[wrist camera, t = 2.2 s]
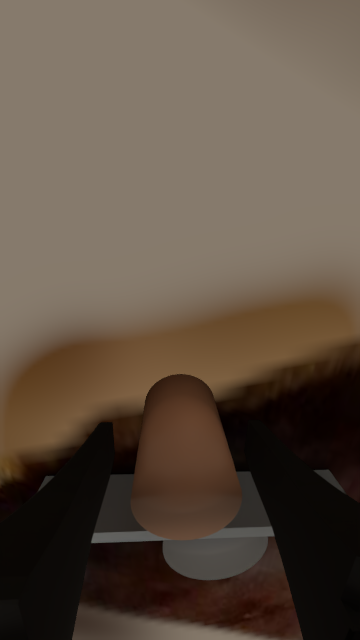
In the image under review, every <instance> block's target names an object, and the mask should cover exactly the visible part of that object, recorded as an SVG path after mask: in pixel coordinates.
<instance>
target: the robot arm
mask: <svg viewBox="0 0 360 640" xmlns="http://www.w3.org/2000/svg"><path fill="white" fill-rule="evenodd" d="M244 451H245V455H246V459H247V463H248V466H249V470H250V473H251V475H252V478H253V481H254V483H255V486H256V488H257V491H258V493H259V496H260V498H261V501H262V503H263V506H264V508H265V511H266V513H267V516H268V518H269V521H270V524H271V527H272V529H273V533H274V536H275V539H276V542H277V546H278V549H279V552H280V555H281V559H282V562H283V566H284V569H285V573H286V576H287V580H288V583H289V587H290V591H291V594H292V598H293V602H294V605H295V609H296V613H297V617H298V620H299V624H300V628H301V632H302V636H303V640H360V503H358V502H357V501H355V500H354V499H352V498H351V497H349V496H348V495H346V494H345V493H343V492H342V491H340V490H339V489H337V488H336V487H335V486H333V485H332V484H330V483H329V482H328V481H327V480H325V479H324V478H323V477H321V476H320V475H319V474H317V473H316V472H315V471H314V470H312V469H311V468H310V467H309V466H308V465H306V464H305V463H304V462H303V461H302V460H301V459H299V458H298V457H297V456H296V455H295V454H294V453H293V452H292V451H291V450H289V449H288V448H287V447H286V446H285V445H284V444H283V443H282V442H281V441H280V440H279V439H278V438H277V437H276V436H275V435H274V434H273V433H272V432H271V431H270V430H269V429H268V428H267V427H266V426H265V425H264V424H263V423H262V422H261V421H260V420H248V428H247V435H246V442H245V450H244ZM114 454H115V452H114V437H113V423H112V422H104V423H100V424H98V426H97V427H96V428H95V430H94V431H93V432H92V434H91V435H90V436H89V438H88V439H87V440H86V441H85V443H84V444H83V445H82V446H81V447H80V449H79V450H78V451H77V452H76V453H75V454H74V456H73V457H72V458H71V459H70V460H69V461H68V462H67V463H66V464H65V466H64V467H63V468H62V469H61V470H60V471H59V472H58V473H57V474H56V475H55V476H54V477H53V478H52V479H51V480H50V481H49V482H48V483H47V484H46V485H45V486H44V487H43V488H42V489H41V490H40V491H38V492H37V493H36V494H35V495H34V496H33V497H32V498H31V499H29V500H28V501H27V502H26V503H25V504H24V505H22V506H21V507H20V508H19V509H18V510H16V511H15V512H14V513H13V514H11V515H10V516H9V517H8V518H6V519H5V520H4V521H2V522H1V523H0V640H72V636H73V631H74V625H75V620H76V615H77V610H78V605H79V600H80V595H81V590H82V585H83V580H84V575H85V570H86V565H87V560H88V556H89V551H90V547H91V542H92V537H93V534H94V530H95V526H96V523H97V519H98V516H99V513H100V509H101V506H102V502H103V499H104V496H105V492H106V489H107V486H108V482H109V479H110V475H111V470H112V465H113V460H114Z"/></svg>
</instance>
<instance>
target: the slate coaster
mask: <svg viewBox="0 0 360 640" xmlns="http://www.w3.org/2000/svg"><path fill="white" fill-rule="evenodd" d="M267 544H268V536H263V537H237V538H210V539H193V540H163V554H164V558H165V560H166V562H167V563H168V564H169V566H170V567H171V568H173V569H174V570H175V571H177V572H178V573H180V574H182V575H184V576H187V577H190V578H194V579H200V580H218V579H224V578H228V577H232V576H235V575H238V574H240V573H242V572H244V571H246V570H248V569H249V568H251V567H252V566H253V565H254V564H256V563H257V562H258V561H259V560H260V558H261V557H262V556H263V554H264V552H265V550H266V548H267Z"/></svg>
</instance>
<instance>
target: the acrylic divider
mask: <svg viewBox="0 0 360 640" xmlns="http://www.w3.org/2000/svg"><path fill="white" fill-rule="evenodd" d="M314 471H315V472H316V473H317V474H319V475H320V476H321V477H323V478H324V479H325V480H327V481H328V482H329V483H330V484H332V485H333V486H335V487H336V488H337V489H339V490H340V491H342V492H343V493H345V491H344V490H343V489H342V487H341V486H340V485H339V483H338V482H337V480H336V479H335V478H334V476H333V475H332V473H331V472H330V471H329V470H314ZM236 473H237V477H238V480H239V483H240V487H241V490H242V502H241V506H240V509H239V511H238V513H237V515H236V516H235V517H234V519H233V520H232V521H231V522H230V523H229V524H228V525H227V526H225V527H224V528H223V529H221V530H219V531H218V532H216V533H214V534H211V535H209V536H206V537H203V538H199V539H210V538H237V537H263V536H274V533H273V529H272V527H271V524H270V521H269V518H268V516H267V513H266V511H265V508H264V506H263V503H262V501H261V498H260V496H259V493H258V491H257V488H256V486H255V483H254V481H253V478H252V475H251V473H250V472H236ZM53 477H54V476H46V477H45V479H44V481H43V483H42V485H41V487H40V488H39V490H38V491H40V490H41V489H42V488H43V487H44V486H45V485H46V484H47V483H48V482H49V481H50V480H51V479H52V478H53ZM133 480H134V474H118V475H110V479H109V482H108V486H107V489H106V492H105V496H104V499H103V502H102V506H101V509H100V513H99V516H98V519H97V523H96V526H95V530H94V534H93V537H92V542H91V543H103V542H130V541H157V540H171V539H166V538H162V537H159V536H157V535H154V534H152V533H150V532H149V531H147V530H146V529H144V528H143V527H142V526H141V525H140V524H139V523H138V522H137V520H136V519H135V517H134V515H133V513H132V510H131V504H130V503H131V493H132V486H133ZM345 494H346V493H345ZM346 495H347V494H346Z"/></svg>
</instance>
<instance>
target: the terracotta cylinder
mask: <svg viewBox="0 0 360 640" xmlns="http://www.w3.org/2000/svg"><path fill="white" fill-rule="evenodd" d="M241 502H242V490H241V487H240V483H239V480H238V477H237V473H236V470H235V467H234V463H233V460H232V457H231V453H230V450H229V447H228V443H227V440H226V437H225V433H224V430H223V427H222V423H221V420H220V417H219V413H218V410H217V407H216V403H215V400H214V397H213V394H212V391H211V390H210V388H209V387H208V386H207V384H205V383H204V382H203V381H202V380H200V379H198V378H196V377H194V376H190V375H183V374H177V375H171V376H168V377H166V378H163V379H161V380H159V381H158V382H157V383H155V384H154V385H153V386H152V388H151V389H150V390H149V392H148V394H147V396H146V400H145V406H144V413H143V420H142V426H141V433H140V440H139V446H138V453H137V460H136V466H135V473H134V480H133V486H132V493H131V503H130V504H131V510H132V513H133V515H134V517H135V519H136V520H137V522H138V523H139V524H140V525H141V526H142V527H143V528H144V529H146V530H147V531H149V532H150V533H152V534H154V535H157V536H159V537H162V538H166V539H171V540H193V539H199V538H203V537H206V536H209V535H211V534H214V533H216V532H218V531H219V530H221V529H223V528H224V527H225V526H227V525H228V524H229V523H230V522H231V521H232V520H233V519H234V517H235V516H236V515H237V513H238V511H239V509H240V506H241Z"/></svg>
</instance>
